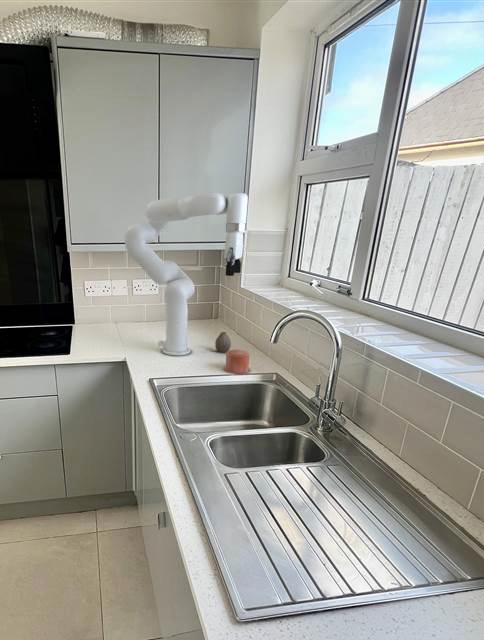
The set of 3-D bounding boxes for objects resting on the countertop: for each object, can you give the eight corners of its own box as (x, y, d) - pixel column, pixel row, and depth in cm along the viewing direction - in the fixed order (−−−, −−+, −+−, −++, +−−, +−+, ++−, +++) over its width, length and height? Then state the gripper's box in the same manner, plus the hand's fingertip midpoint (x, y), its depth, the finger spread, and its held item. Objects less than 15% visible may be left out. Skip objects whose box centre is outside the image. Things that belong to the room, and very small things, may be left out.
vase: (229, 354, 181) (231, 335, 177) (214, 353, 182) (215, 334, 179) (230, 349, 187) (231, 331, 183) (215, 348, 188) (216, 330, 185)
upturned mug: (245, 374, 157) (246, 357, 154) (222, 371, 160) (223, 354, 157) (251, 365, 167) (253, 348, 164) (230, 362, 170) (231, 345, 167)
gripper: (232, 228, 164) (230, 271, 171) (219, 229, 150) (217, 276, 156) (250, 228, 161) (247, 272, 168) (239, 229, 147) (236, 277, 153)
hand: (233, 274), depth 162 cm, fingers open, 9 cm apart
